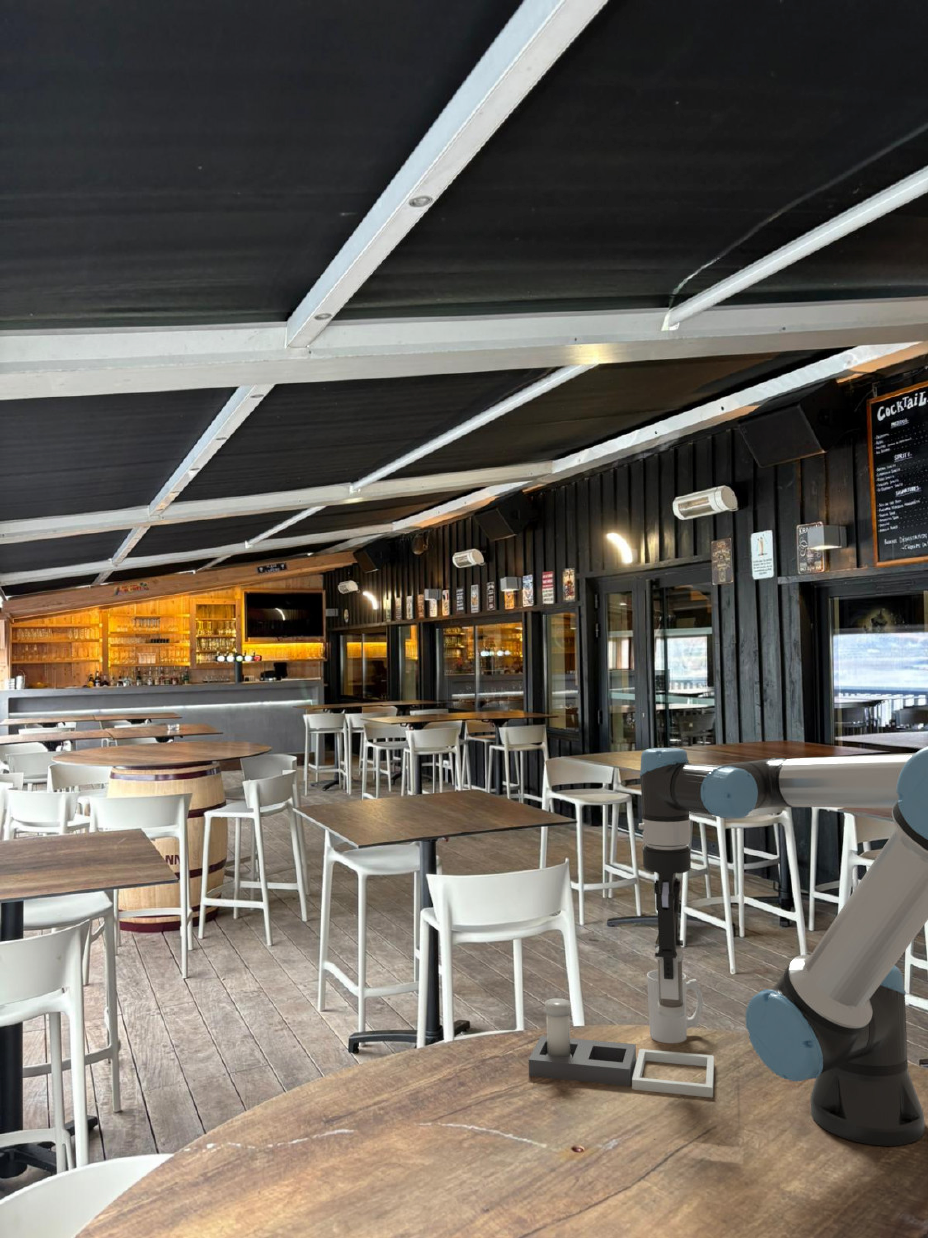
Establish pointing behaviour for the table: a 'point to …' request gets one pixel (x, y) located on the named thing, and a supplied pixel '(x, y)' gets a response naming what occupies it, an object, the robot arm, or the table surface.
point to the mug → (665, 1026)
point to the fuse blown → (677, 1007)
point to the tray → (674, 1086)
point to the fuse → (558, 1027)
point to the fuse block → (586, 1062)
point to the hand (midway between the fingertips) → (670, 992)
